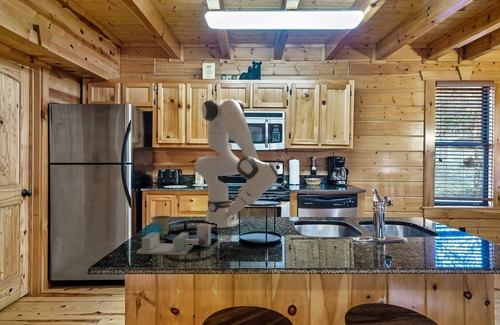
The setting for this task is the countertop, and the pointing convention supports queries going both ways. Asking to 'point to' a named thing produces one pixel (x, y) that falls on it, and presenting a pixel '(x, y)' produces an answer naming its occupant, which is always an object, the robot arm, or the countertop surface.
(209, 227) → the block
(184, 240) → the jaw
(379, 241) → the countertop surface
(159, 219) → the flower pot
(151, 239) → the vise
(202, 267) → the countertop surface
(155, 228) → the gear
